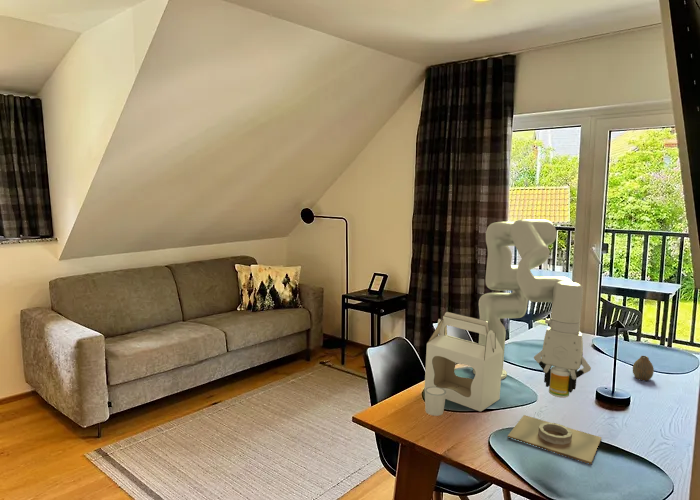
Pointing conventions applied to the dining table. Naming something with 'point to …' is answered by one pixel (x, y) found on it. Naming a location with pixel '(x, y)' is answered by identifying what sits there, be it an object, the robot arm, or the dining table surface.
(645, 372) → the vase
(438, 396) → the white cup
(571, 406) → the dining table surface
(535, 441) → the socket board
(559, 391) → the supplement bottle
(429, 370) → the gable box
